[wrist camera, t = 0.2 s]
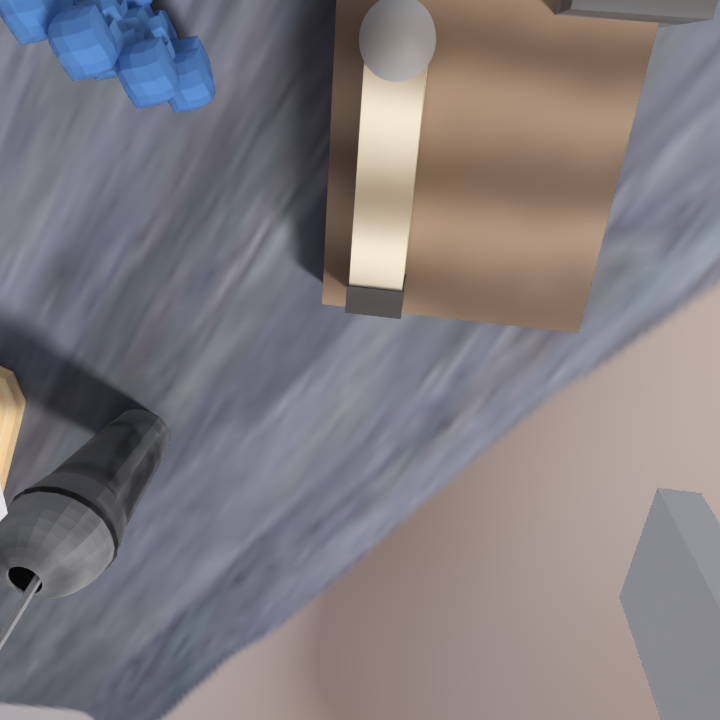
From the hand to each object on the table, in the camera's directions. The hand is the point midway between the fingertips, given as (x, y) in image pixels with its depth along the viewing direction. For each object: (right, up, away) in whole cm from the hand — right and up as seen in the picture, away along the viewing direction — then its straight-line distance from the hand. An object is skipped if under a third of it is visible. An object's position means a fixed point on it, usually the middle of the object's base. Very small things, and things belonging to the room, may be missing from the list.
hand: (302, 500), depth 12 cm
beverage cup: (-16, -3, +37) cm, 40 cm away
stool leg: (+3, +14, +22) cm, 26 cm away
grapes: (-10, +22, +23) cm, 34 cm away
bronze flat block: (+8, +15, +24) cm, 29 cm away
